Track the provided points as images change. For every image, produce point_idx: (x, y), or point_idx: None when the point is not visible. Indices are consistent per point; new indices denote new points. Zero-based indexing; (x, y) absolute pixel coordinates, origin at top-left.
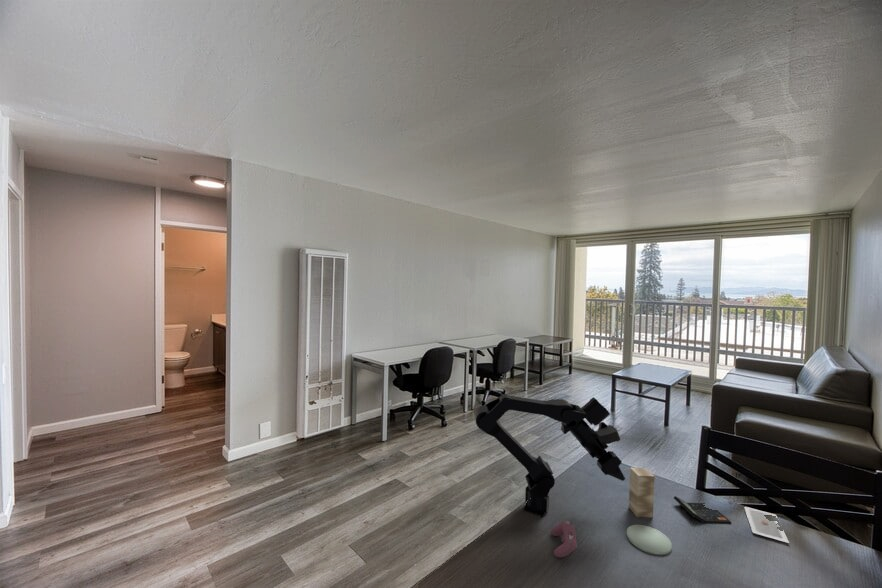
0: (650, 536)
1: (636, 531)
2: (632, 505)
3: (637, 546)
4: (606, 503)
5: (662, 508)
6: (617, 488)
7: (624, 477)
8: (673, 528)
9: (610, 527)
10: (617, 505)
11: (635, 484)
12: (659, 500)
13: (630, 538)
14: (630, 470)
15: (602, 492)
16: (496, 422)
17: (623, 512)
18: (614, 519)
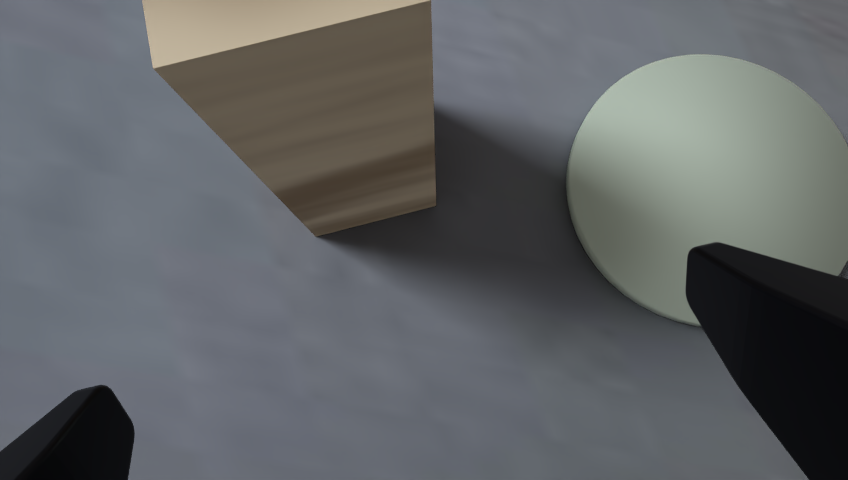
0: (693, 167)
1: (672, 250)
2: (363, 210)
3: None
4: (310, 410)
5: None
6: (47, 273)
7: (750, 252)
8: (496, 3)
9: (652, 435)
10: (317, 322)
11: (377, 110)
12: None
13: None
14: (188, 88)
15: (138, 417)
16: None
17: (406, 293)
18: (529, 383)
